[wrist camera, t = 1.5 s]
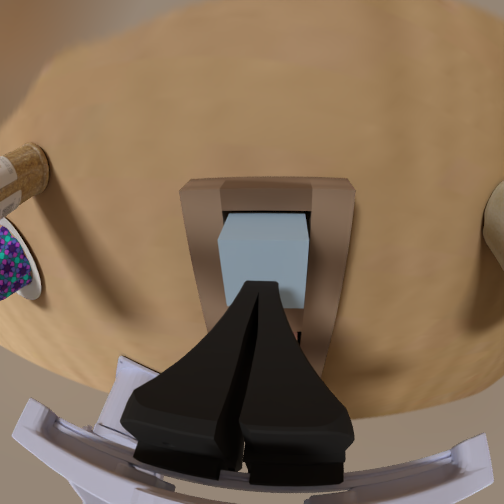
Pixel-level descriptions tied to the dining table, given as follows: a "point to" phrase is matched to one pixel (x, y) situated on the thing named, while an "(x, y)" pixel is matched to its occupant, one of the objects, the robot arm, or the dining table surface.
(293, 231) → the blue key
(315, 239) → the board
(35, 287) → the purple domed brimmed piece
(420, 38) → the dining table surface
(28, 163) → the sprinkles bottle
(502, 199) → the flower pot
